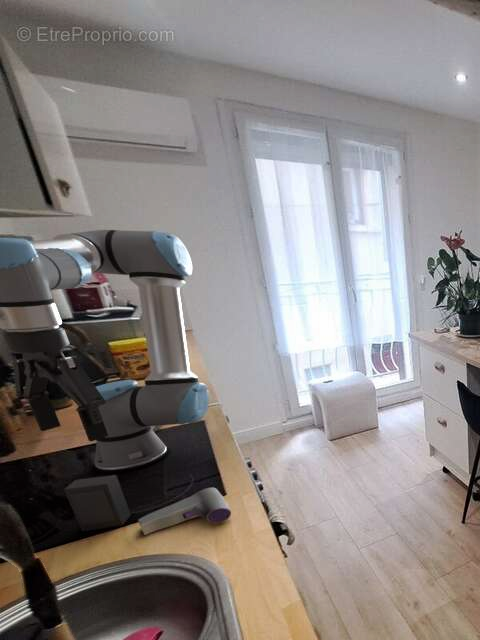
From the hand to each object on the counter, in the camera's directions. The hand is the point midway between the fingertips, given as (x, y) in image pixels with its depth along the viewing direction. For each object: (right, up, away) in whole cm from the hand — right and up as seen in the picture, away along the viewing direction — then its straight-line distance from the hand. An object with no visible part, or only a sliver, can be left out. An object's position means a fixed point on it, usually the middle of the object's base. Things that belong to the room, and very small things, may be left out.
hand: (74, 433), depth 82 cm
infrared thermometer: (+13, -22, +13) cm, 28 cm away
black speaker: (-5, -22, +12) cm, 25 cm away
